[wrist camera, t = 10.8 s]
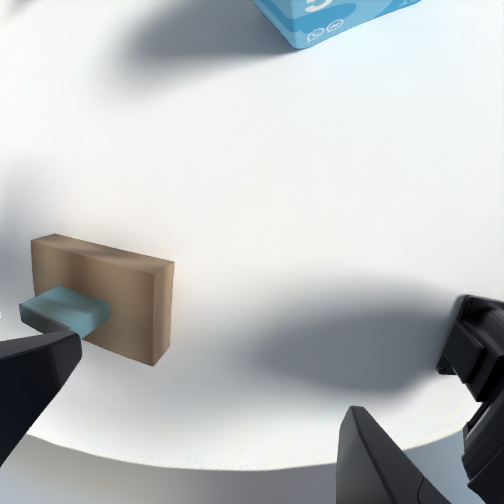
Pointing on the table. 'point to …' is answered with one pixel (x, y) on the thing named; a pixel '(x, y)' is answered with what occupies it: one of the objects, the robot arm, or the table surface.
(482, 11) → the table surface
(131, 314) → the brown display base
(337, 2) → the data package
